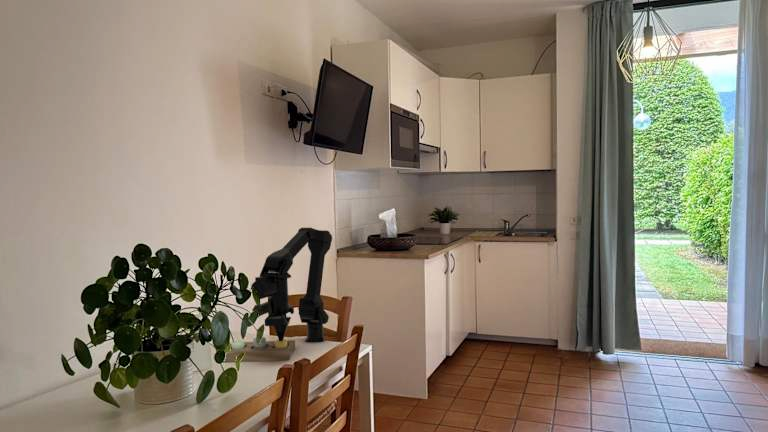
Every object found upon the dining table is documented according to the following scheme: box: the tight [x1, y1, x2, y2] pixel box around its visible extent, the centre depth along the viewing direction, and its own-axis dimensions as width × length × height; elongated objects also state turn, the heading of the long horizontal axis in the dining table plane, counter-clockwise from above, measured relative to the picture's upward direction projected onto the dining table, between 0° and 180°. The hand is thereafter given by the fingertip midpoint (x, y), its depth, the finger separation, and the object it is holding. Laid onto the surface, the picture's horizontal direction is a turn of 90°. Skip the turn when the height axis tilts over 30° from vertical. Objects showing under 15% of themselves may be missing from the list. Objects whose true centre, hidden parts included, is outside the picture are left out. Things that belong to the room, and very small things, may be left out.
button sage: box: [231, 340, 245, 349], centre depth 175 cm, size 4×4×4 cm
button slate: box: [252, 337, 267, 349], centre depth 175 cm, size 4×4×4 cm
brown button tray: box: [224, 339, 296, 363], centre depth 175 cm, size 12×21×3 cm, turn 90°
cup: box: [192, 312, 212, 372], centre depth 164 cm, size 8×8×16 cm
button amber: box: [274, 338, 288, 348], centre depth 175 cm, size 4×4×4 cm
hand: (281, 340), depth 175 cm, fingers closed, pressing on button amber
